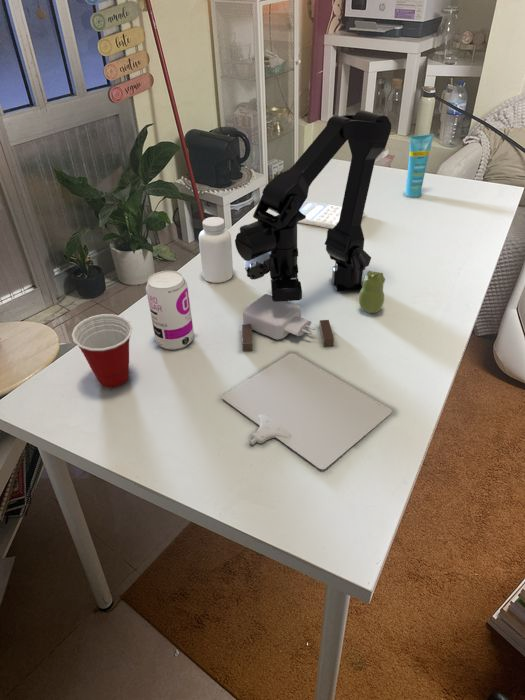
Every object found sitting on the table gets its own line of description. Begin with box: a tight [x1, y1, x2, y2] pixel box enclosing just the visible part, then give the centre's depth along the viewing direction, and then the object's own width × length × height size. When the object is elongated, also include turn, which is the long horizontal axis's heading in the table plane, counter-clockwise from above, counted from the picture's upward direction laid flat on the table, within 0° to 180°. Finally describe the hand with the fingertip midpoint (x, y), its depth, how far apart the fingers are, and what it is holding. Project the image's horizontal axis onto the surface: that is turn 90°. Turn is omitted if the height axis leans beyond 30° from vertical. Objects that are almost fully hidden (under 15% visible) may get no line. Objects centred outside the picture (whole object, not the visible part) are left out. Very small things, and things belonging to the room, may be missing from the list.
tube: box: [404, 133, 435, 198], centre depth 169 cm, size 7×5×19 cm, turn 104°
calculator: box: [297, 201, 365, 229], centre depth 162 cm, size 13×20×2 cm, turn 62°
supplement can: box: [145, 270, 195, 351], centre depth 110 cm, size 8×8×15 cm
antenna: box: [221, 352, 393, 470], centre depth 96 cm, size 25×24×1 cm
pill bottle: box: [198, 216, 234, 284], centre depth 131 cm, size 8×8×15 cm
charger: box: [242, 293, 316, 340], centre depth 115 cm, size 5×9×15 cm
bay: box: [241, 319, 335, 352], centre depth 113 cm, size 19×7×2 cm, turn 93°
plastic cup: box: [71, 313, 134, 389], centre depth 101 cm, size 11×11×12 cm
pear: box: [358, 270, 386, 314], centre depth 118 cm, size 6×5×10 cm
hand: (284, 303), depth 121 cm, fingers closed
